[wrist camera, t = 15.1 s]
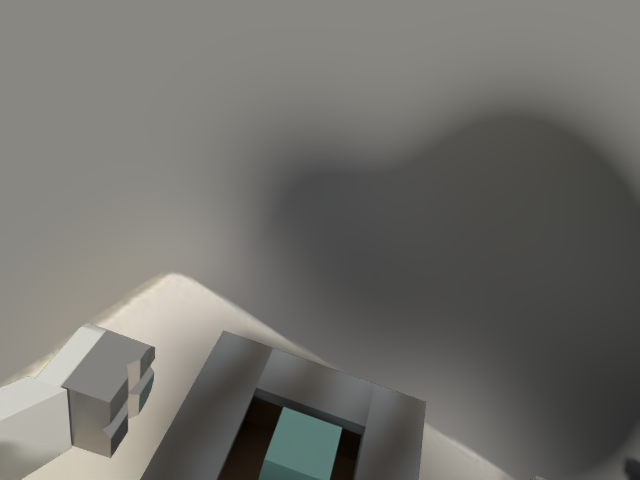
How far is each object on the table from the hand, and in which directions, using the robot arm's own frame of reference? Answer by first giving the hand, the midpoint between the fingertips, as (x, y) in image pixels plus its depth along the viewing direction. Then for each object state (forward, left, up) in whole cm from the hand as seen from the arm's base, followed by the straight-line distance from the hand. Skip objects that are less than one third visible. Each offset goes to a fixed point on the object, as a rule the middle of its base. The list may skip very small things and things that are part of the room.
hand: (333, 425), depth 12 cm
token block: (0, -14, -30) cm, 33 cm away
